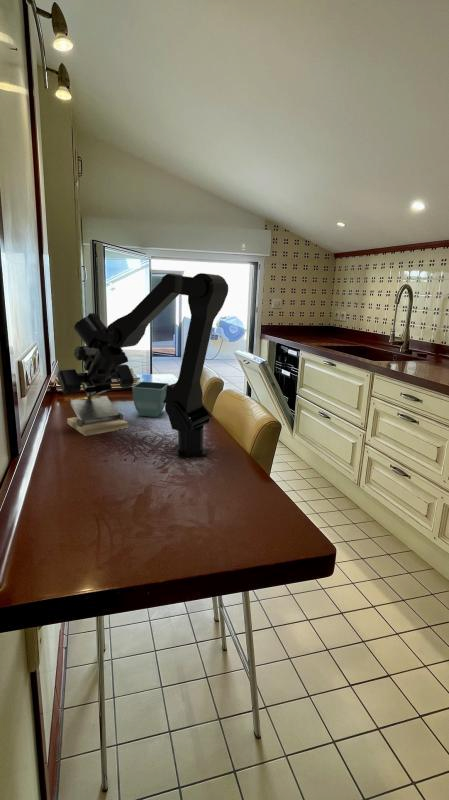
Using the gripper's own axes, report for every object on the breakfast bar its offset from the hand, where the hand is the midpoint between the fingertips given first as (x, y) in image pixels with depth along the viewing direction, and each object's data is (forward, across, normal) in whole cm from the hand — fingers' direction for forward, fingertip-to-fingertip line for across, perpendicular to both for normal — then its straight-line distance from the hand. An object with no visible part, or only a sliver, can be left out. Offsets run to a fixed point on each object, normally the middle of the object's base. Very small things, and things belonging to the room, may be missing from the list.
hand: (88, 395), depth 116 cm
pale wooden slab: (+1, 0, +9) cm, 9 cm away
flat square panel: (-2, 0, +9) cm, 9 cm away
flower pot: (+3, -17, +8) cm, 19 cm away
